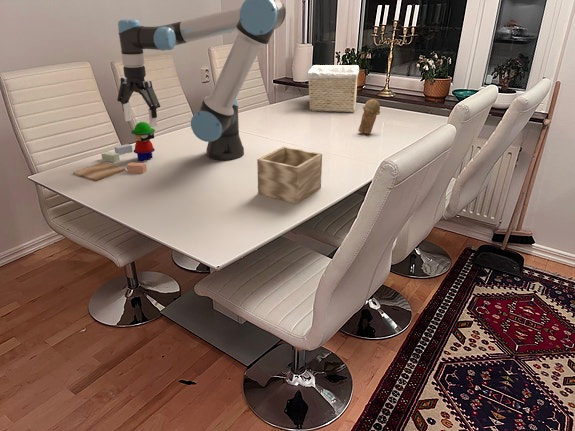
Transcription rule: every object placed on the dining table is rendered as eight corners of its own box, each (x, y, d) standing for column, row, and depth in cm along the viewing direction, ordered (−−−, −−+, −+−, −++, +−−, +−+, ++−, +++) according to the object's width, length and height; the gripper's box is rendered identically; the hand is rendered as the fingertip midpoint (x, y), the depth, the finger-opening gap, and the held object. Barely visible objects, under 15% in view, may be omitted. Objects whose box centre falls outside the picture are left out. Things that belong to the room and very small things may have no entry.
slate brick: (129, 150, 198) (128, 143, 197) (132, 152, 196) (131, 145, 195) (115, 154, 194) (114, 146, 193) (119, 155, 192) (118, 148, 191)
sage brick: (119, 160, 187) (118, 153, 185) (114, 163, 184) (113, 155, 183) (108, 158, 189) (107, 151, 188) (102, 160, 187) (101, 153, 185)
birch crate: (320, 187, 163) (322, 153, 158) (296, 203, 151) (297, 168, 145) (283, 178, 170) (283, 146, 165) (258, 193, 158) (257, 159, 152)
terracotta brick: (146, 170, 177) (145, 163, 176) (143, 173, 174) (142, 166, 173) (131, 170, 178) (130, 162, 176) (128, 172, 175) (126, 165, 174)
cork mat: (125, 170, 177) (125, 168, 177) (96, 181, 167) (96, 179, 167) (102, 163, 183) (102, 162, 183) (73, 174, 173) (72, 172, 173)
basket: (305, 111, 259) (306, 70, 249) (311, 101, 282) (312, 63, 273) (355, 114, 255) (358, 72, 245) (357, 102, 279) (359, 64, 269)
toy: (154, 154, 193) (149, 117, 187) (161, 160, 187) (157, 122, 180) (132, 158, 189) (126, 121, 182) (139, 164, 182) (133, 126, 176)
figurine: (357, 134, 220) (359, 101, 214) (361, 129, 227) (364, 98, 220) (375, 136, 217) (378, 103, 211) (379, 131, 224) (382, 99, 218)
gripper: (166, 67, 169) (171, 126, 178) (118, 61, 181) (126, 116, 190) (150, 70, 163) (157, 131, 173) (102, 63, 175) (110, 120, 184)
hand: (140, 123), depth 181 cm, fingers open, 13 cm apart
